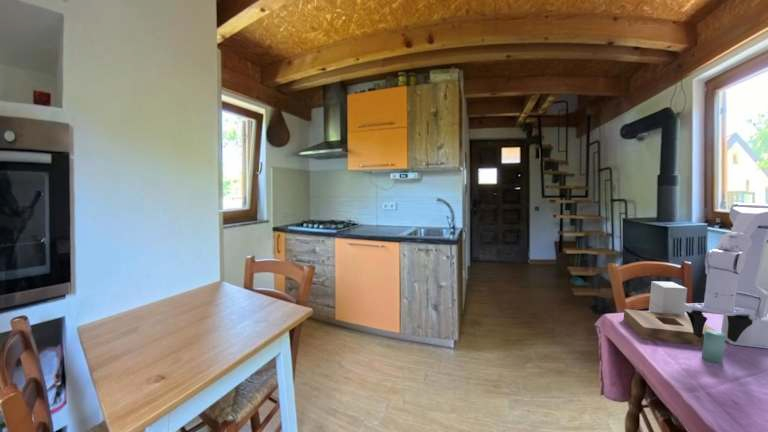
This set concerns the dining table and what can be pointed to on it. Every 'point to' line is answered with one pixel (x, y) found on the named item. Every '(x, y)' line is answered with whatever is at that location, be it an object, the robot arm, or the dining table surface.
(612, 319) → the dining table surface
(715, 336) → the peg
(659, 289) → the supplement box
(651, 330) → the socket block
